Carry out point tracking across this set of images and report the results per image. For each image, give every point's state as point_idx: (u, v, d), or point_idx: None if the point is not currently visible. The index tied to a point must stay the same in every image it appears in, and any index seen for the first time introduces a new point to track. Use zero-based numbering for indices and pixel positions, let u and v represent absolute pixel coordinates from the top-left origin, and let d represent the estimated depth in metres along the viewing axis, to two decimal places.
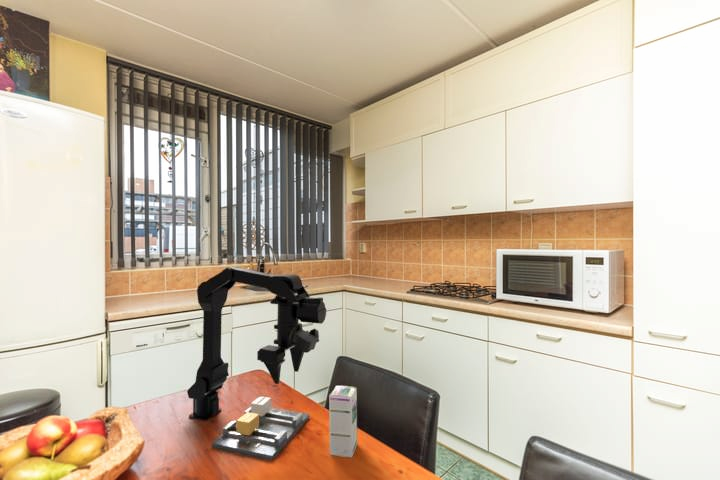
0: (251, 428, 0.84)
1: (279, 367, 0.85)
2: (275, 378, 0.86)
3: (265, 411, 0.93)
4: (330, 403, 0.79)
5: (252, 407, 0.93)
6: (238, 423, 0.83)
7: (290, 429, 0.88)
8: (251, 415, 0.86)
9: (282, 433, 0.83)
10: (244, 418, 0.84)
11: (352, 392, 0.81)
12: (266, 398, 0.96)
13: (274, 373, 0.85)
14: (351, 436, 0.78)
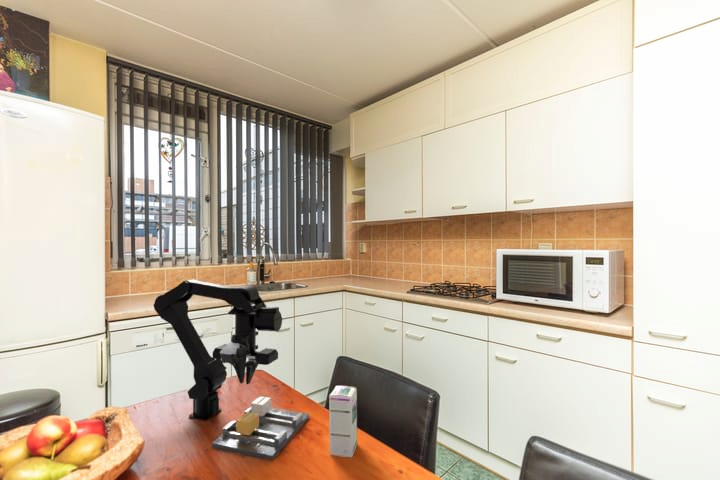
0: (251, 428, 0.84)
1: (236, 367, 0.95)
2: None
3: (265, 411, 0.93)
4: (330, 403, 0.79)
5: (252, 407, 0.93)
6: (238, 423, 0.83)
7: (290, 429, 0.88)
8: (251, 415, 0.86)
9: (282, 433, 0.83)
10: (244, 418, 0.84)
11: (352, 392, 0.81)
12: (266, 398, 0.96)
13: None
14: (351, 436, 0.78)
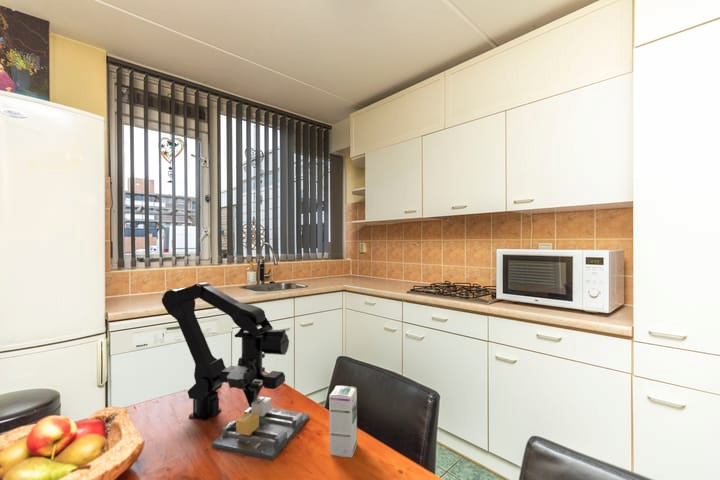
0: (251, 428, 0.84)
1: (245, 391, 0.94)
2: None
3: (265, 411, 0.93)
4: (330, 403, 0.79)
5: (252, 407, 0.93)
6: (238, 423, 0.83)
7: (290, 429, 0.88)
8: (251, 415, 0.86)
9: (282, 433, 0.83)
10: (244, 418, 0.84)
11: (352, 392, 0.81)
12: (266, 398, 0.95)
13: None
14: (351, 436, 0.78)
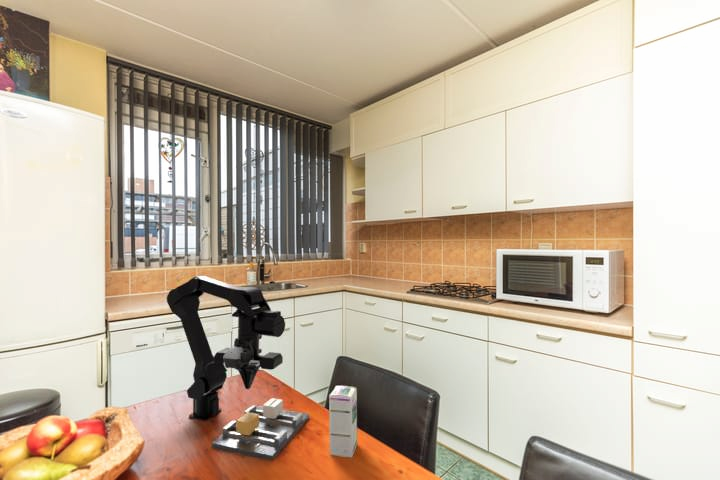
0: (251, 428, 0.84)
1: (241, 372, 0.92)
2: None
3: (277, 413, 0.92)
4: (330, 403, 0.79)
5: (264, 409, 0.91)
6: (238, 423, 0.83)
7: (290, 429, 0.88)
8: (251, 415, 0.86)
9: (282, 433, 0.83)
10: (244, 418, 0.84)
11: (352, 392, 0.81)
12: (278, 400, 0.94)
13: None
14: (351, 436, 0.78)
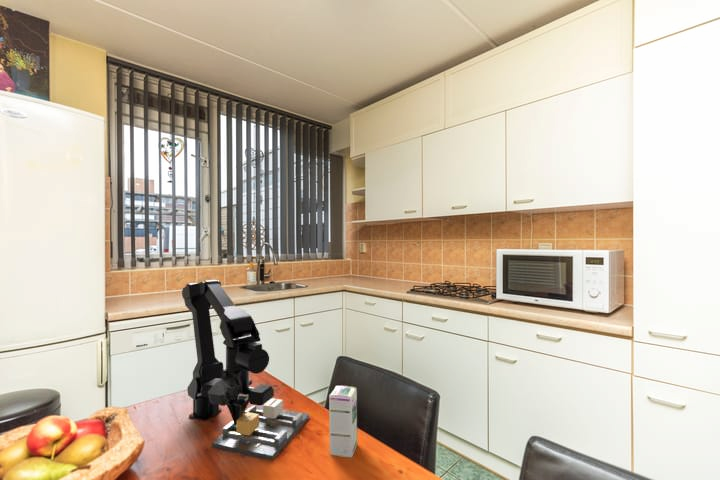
0: (251, 428, 0.84)
1: (230, 407, 0.85)
2: None
3: (277, 413, 0.92)
4: (330, 403, 0.79)
5: (264, 409, 0.91)
6: (238, 423, 0.83)
7: (290, 429, 0.88)
8: (251, 415, 0.86)
9: (282, 433, 0.83)
10: (244, 418, 0.84)
11: (352, 392, 0.81)
12: (278, 400, 0.94)
13: None
14: (351, 436, 0.78)
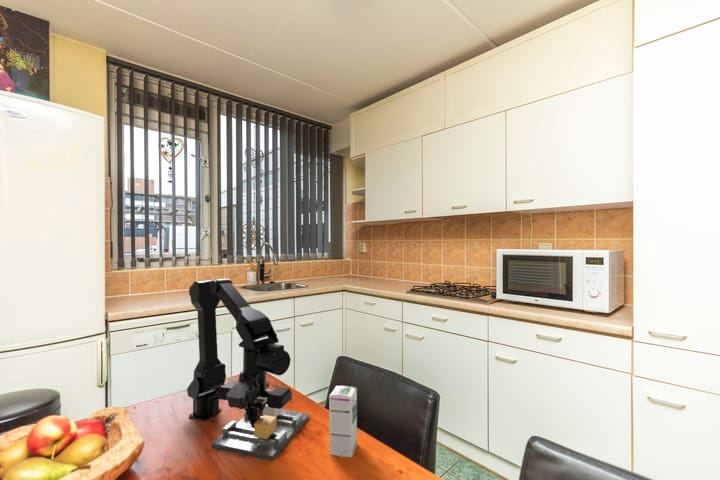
0: (269, 431, 0.82)
1: (247, 410, 0.83)
2: None
3: (277, 413, 0.92)
4: (330, 403, 0.79)
5: (264, 409, 0.91)
6: (256, 426, 0.82)
7: (290, 429, 0.88)
8: (268, 418, 0.84)
9: (282, 433, 0.83)
10: (261, 422, 0.83)
11: (352, 392, 0.81)
12: None
13: None
14: (351, 436, 0.78)
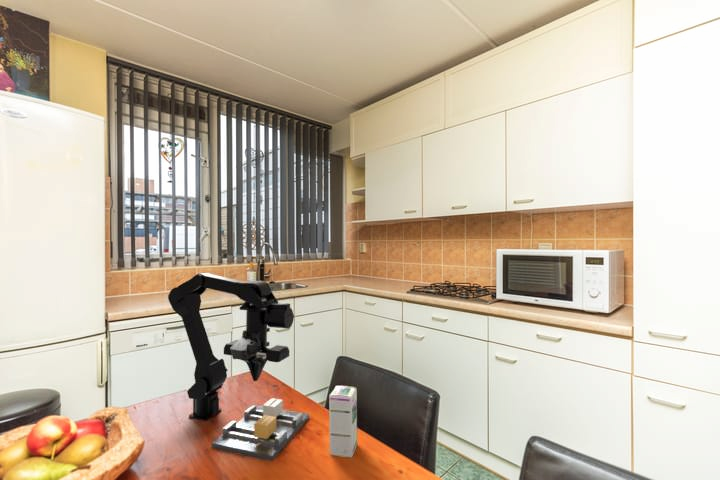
0: (269, 431, 0.82)
1: (249, 364, 0.93)
2: None
3: (277, 413, 0.92)
4: (330, 403, 0.79)
5: (264, 409, 0.91)
6: (256, 426, 0.82)
7: (290, 429, 0.88)
8: (268, 418, 0.84)
9: (282, 433, 0.83)
10: (261, 422, 0.83)
11: (352, 392, 0.81)
12: (278, 400, 0.94)
13: None
14: (351, 436, 0.78)
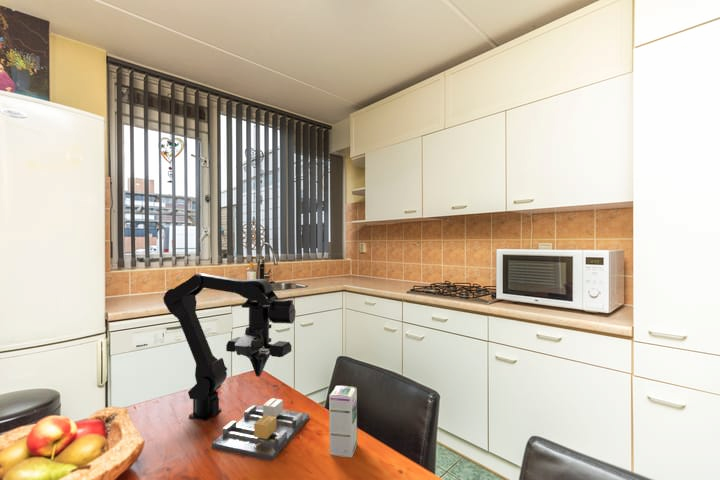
0: (269, 431, 0.82)
1: (252, 360, 0.95)
2: None
3: (277, 413, 0.92)
4: (330, 403, 0.79)
5: (264, 409, 0.91)
6: (256, 426, 0.82)
7: (290, 429, 0.88)
8: (268, 418, 0.84)
9: (282, 433, 0.83)
10: (261, 422, 0.83)
11: (352, 392, 0.81)
12: (278, 400, 0.94)
13: None
14: (351, 436, 0.78)
